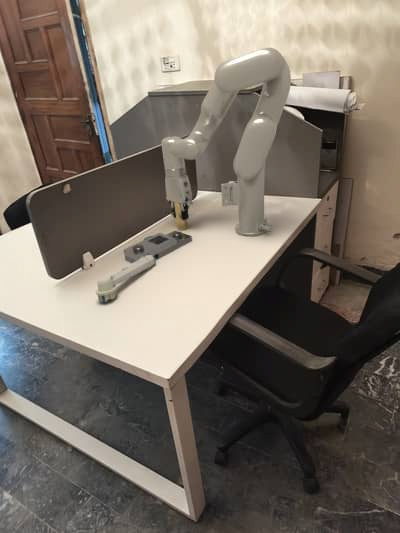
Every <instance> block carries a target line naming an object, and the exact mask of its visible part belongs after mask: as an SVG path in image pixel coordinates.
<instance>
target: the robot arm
mask: <svg viewBox="0 0 400 533" xmlns="http://www.w3.org/2000/svg"><path fill="white" fill-rule="evenodd" d="M213 78H214V79H213V82H212V84H211V86H210V88H209V90H208V92H207V93H206V95H205V97H204V99H203V100H202V104H201V106H200V113H199V114H200V115H199V117H198V119H197V121H196V123H195V125H194V127H193V129H192V131H191V132H190V133H189V135H188V136H186V137H185V138H181V137H180V136H167V137H164V138H163V139H161V150H162V158H163V164H164V173H165V180H164V182H165V184H164V185H165V194H166V197H165V199H166V200H167V201H168V203H169V204H170V207H171V209H172V214H173V218H174V219H176V213H175V206H174V202H178V203H180V204H181V208H182V211H181V216H182V220H183V221H184V220H186V219H187V220H188V219H190V218H189V217H190V215H189V209H190V207H191V206H193V205H194V203H193V194H192V187H191V184H190V183H191V182H190V179H189V177H188V175H187V169H186V163H185V160H190V161H192V160H196V159H197V158H199V157H200V156H201V155H202V154H203V153H204V151H205V150H206V149H207V147H208V146H209V143H210V142H211V140H212V138H213V137H214V135H215V133H216V131H217V129H218V128H219V126H220V124H221V123H222V122H223V119H224V117H226V114H227V113H228V111H229V109H230V107H231V106H232V104H233V102H234V100H235V99H236V97H237V95H238V93H239V91H241V90H245V89H248V88H252V87H255V86H258V85H261V84H262V85H263V86H262V89H261V92H260V95H259V98H258V101H257V104H256V107H255V109H254V112H253V115H251V118H250V119H249V121H248V122H247V124H246V126H245V129H244V131H243V134H242V136H241V140H240V142H239V145H238V148H237V150H236V154H235V156H234V159H233V163H232V164H233V166H232V167H233V171H234V174H235V175H236V176H237V181H238V205H237V206H238V207H237V209H238V210H237V211H238V223H237V224H235V226H234V231H235V232H236V233H237V234H239V235H241V236H245V237H256V236H261V235H263V234H265V233H267V232H269V233H270V232H271V231H272V228H273V224H272V223H268V222H267V217H266V218H265V172H266V170H265V169H266V168H265V167H266V160H267V158H268V155H269V153H270V150H271V147H272V145H273V142H274V140H275V137H276V135H277V128H278V125H279V122H280V119H281V117H282V114H283V111H284V109H285V106H286V103H287V101H288V98H289V95H290V90H291V84H292V82H291V80H292V77H291V70H290V67H289V64H288V62H287V60H286V59H285V57H284V56H283V55H282V53H281V52H280V51H279V50H277V49H276V48H273V47H264V48H261V49H258V50H256V51H253V52H251V53H248V54H244V55H242V56H239V57H236V58H233V59H229V60H227V61H224V62H221V63H220V64H219V65H218V66H217V67H216V69H215V72H214V77H213ZM184 204H185V206H184Z"/></svg>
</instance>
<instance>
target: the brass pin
mask: <svg viewBox="0 0 400 533" xmlns="http://www.w3.org/2000/svg"><path fill="white" fill-rule="evenodd" d="M174 206H175V213H176V218H175V220H176V227H177V230H178V231H185V230H188V221H187V220H188V219H186V220H184V221H183V220H182V216H181V211H182V208H181V204H180V203H178V202H174ZM184 206H185V204H184Z"/></svg>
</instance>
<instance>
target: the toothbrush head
mask: <svg viewBox="0 0 400 533" xmlns="http://www.w3.org/2000/svg"><path fill="white" fill-rule="evenodd" d="M156 263H157V260H156V257H154V256H153V255H146V256H144V257H141V258H140V259H139V260H137V261H135V262H134V263H130V264H128V265H126V266H125V267H124V268H122V269H121V270H118V271H116V272H115V273H113V274H112V275H110V276H107V277H102V278H99V279H98V280H97V289H96V290H95V294H96V295H97V298H98V301H99V302H108V300H113V299H116V296H117V297H118V295H117V290H118V288H117V285H120V283H123V282H125V281H126V280H128V279H131V278H132V277H134V276H137V275H138V274H140V273H141V272H144V271H145V270H146V271H148V270H149V269H150V268H151V267H153V266H154V265H156Z"/></svg>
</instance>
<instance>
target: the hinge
mask: <svg viewBox="0 0 400 533" xmlns="http://www.w3.org/2000/svg"><path fill="white" fill-rule="evenodd" d="M220 188H221V191H220V192H221V204H222V205H221V206H222V207H227V205H228V206H238V180H236V181H234V180H232V181H231V180H230V181H228V183H227V182H226V183H221V184H220Z"/></svg>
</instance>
